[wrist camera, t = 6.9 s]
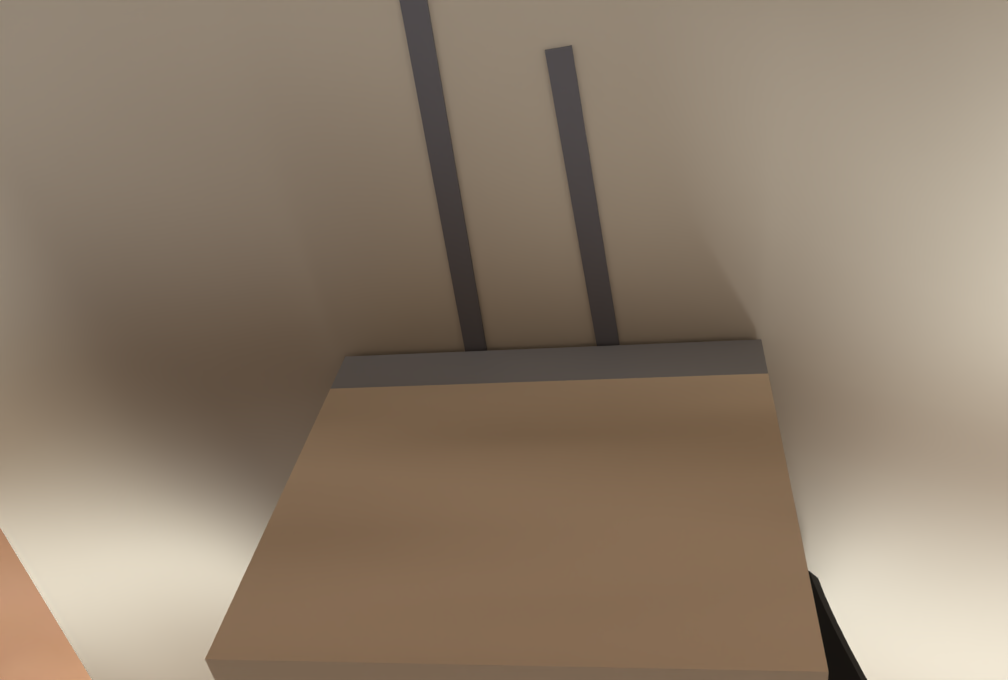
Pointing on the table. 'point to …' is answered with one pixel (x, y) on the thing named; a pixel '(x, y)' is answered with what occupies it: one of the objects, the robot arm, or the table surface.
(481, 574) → the block
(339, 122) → the beige square mat
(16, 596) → the table surface
